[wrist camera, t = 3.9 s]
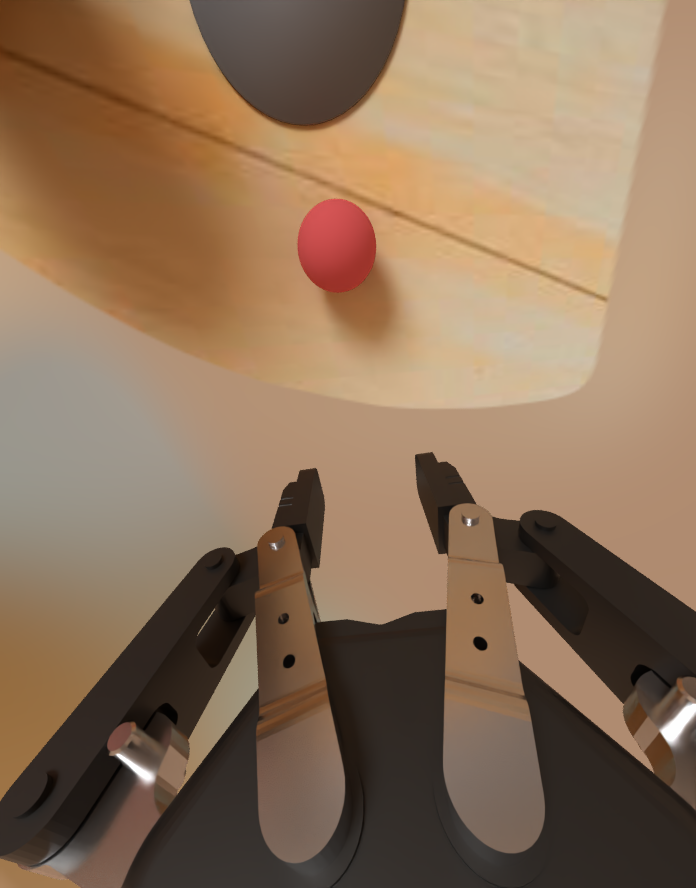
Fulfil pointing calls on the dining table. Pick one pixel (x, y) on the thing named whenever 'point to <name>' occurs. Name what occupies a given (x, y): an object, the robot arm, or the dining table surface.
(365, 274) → the ball
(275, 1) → the disc
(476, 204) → the dining table surface
